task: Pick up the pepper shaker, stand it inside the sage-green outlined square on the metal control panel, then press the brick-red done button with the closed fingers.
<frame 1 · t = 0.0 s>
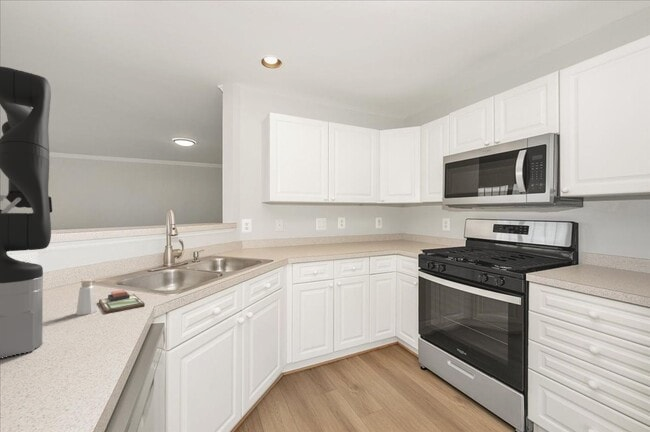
hand: (24, 224, 99), 29 cm above the worktop, tool pointing down, fingers open, 8 cm apart
pepper shaker: (86, 313, 94), on the worktop
done button: (118, 293, 106), point 3 cm above the worktop, slide at 0.0 cm
metal control panel: (121, 304, 103), on the worktop
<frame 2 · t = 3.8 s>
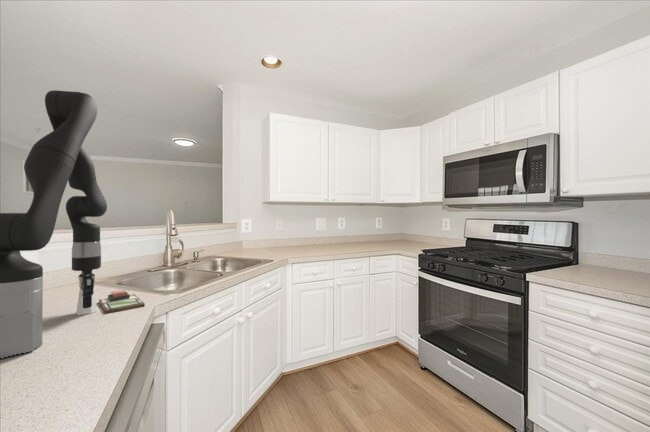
hand: (86, 305, 94), 2 cm above the worktop, tool pointing down, fingers closed on pepper shaker, 3 cm apart
pepper shaker: (86, 313, 94), on the worktop, touching gripper
everything else where it was.
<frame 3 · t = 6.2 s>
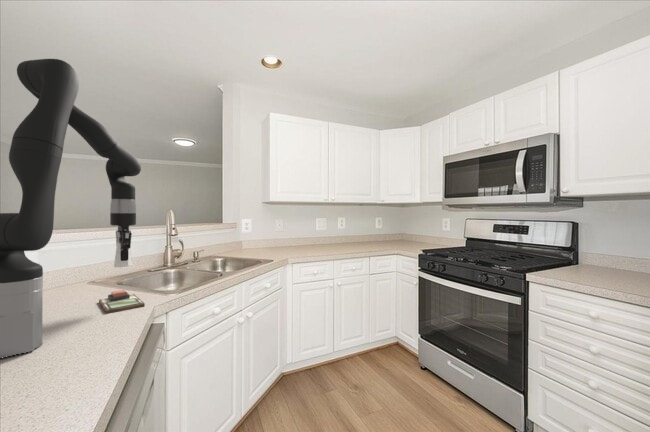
hand: (123, 259, 100), 17 cm above the worktop, tool pointing down, fingers closed on pepper shaker, 3 cm apart
pepper shaker: (123, 266, 100), point 14 cm above the worktop, touching gripper
everything else where it was.
when the fingers open (5 cm above the worktop, at t = 8.7 s): pepper shaker drops 1 cm, resting on metal control panel.
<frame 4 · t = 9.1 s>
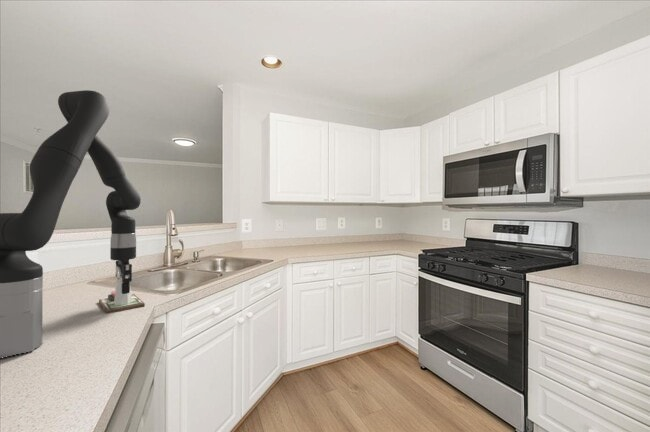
hand: (123, 291, 100), 5 cm above the worktop, tool pointing down, fingers open, 7 cm apart
pepper shaker: (123, 303, 100), point 1 cm above the worktop, touching metal control panel
everything else where it was.
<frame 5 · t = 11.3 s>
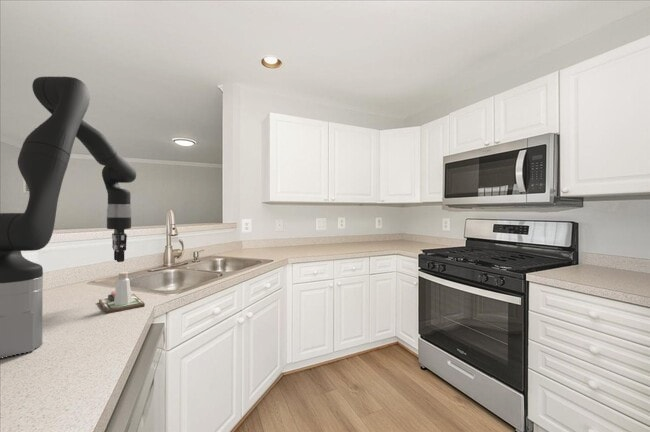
hand: (119, 260, 106), 15 cm above the worktop, tool pointing down, fingers open, 5 cm apart
nothing on the worktop moved.
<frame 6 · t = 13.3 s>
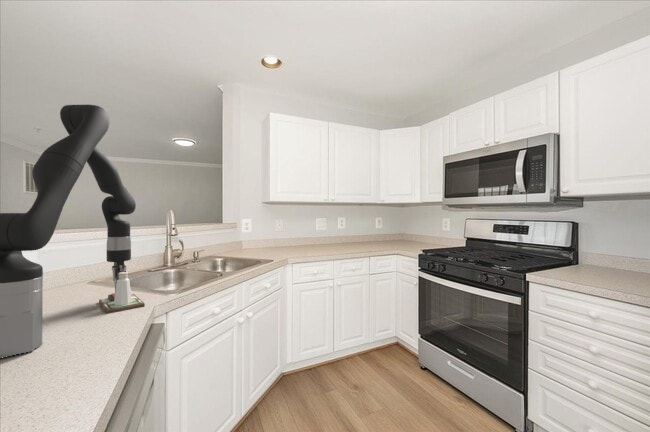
hand: (118, 293, 106), 3 cm above the worktop, tool pointing down, fingers closed
done button: (118, 295, 106), point 2 cm above the worktop, slide at 0.7 cm, touching gripper
everything else where it was.
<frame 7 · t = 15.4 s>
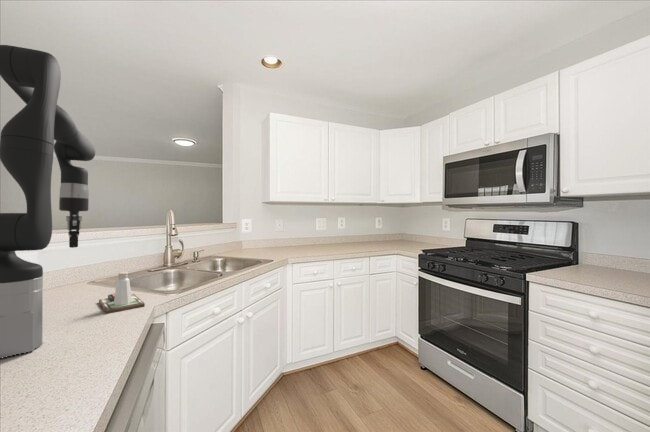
hand: (73, 247, 96), 22 cm above the worktop, tool pointing down, fingers closed
done button: (118, 296, 106), point 2 cm above the worktop, slide at 0.9 cm
everything else where it was.
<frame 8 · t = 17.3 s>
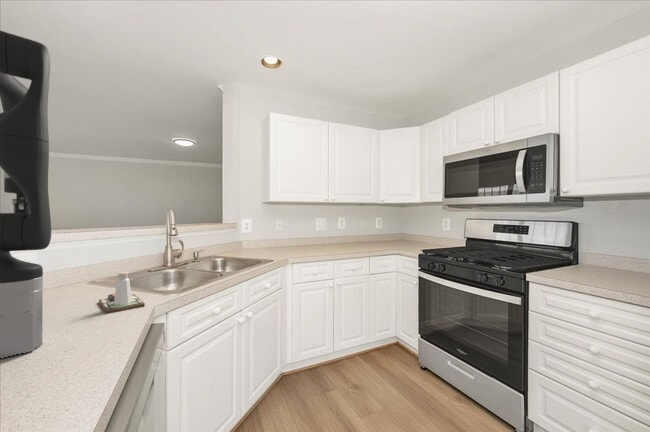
hand: (22, 233, 87), 27 cm above the worktop, tool pointing down, fingers closed
nothing on the worktop moved.
at the end: pepper shaker inside the target area (0.1 cm from its centre), point 1.0 cm above the worktop; pepper shaker tilted 0°; done button slide at 0.9 cm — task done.
